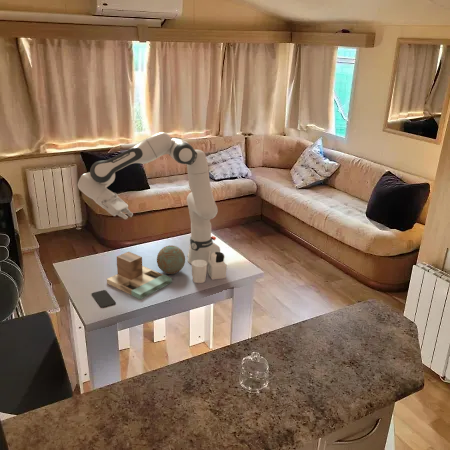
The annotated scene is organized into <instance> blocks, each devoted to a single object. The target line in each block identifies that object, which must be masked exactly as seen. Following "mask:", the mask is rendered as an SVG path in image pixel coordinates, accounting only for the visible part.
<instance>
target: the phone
mask: <svg viewBox="0 0 450 450" xmlns="http://www.w3.org/2000/svg"><path fill="white" fill-rule="evenodd" d="M91 296H92V297H93V299H94V300H95V302H97V305H98V306H99V307H100V308H102V309H105V308H107V307H112V306H115V305H116V303H117V302H116V301H115V300H114V298H113V297H112V296H111V295H110V294H109V292H108V291H107V289H103V290H98V291H94V292H92V293H91Z"/></svg>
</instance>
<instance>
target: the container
mask: <svg viewBox="0 0 450 450" xmlns="http://www.w3.org/2000/svg"><path fill="white" fill-rule="evenodd" d="M207 274H208V275H209V277H210V279H211V280H212V281H213V280H221V279H226V278H227V264H226V263H225V254H224V253H223V252H221V251H220V252H214V253H212V254H211V260H210V261H208V266H207Z"/></svg>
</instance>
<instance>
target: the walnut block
mask: <svg viewBox="0 0 450 450" xmlns="http://www.w3.org/2000/svg"><path fill="white" fill-rule="evenodd" d="M142 266H143V256H140V255H138V254H136V253H133V252H132V251H126V252H124V253H122V254H119V255H117V256H116V268H117V271H116V272H117V274H119V275H121V276H123V277H125V278H127V279H130V280H132V279H134V278H136V277H138V276H141V275H143V273H142Z"/></svg>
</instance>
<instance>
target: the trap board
mask: <svg viewBox="0 0 450 450" xmlns="http://www.w3.org/2000/svg"><path fill="white" fill-rule="evenodd" d="M142 273H143V275H141V276H138V277H136V278H134V279H132V280H130V279H127V278H125V277H123V276H121V275H119V274H118V273H117V274H114V275H112V276H110V277H108V278H106V284H108V285H109V286H112V287H114V288H115V289H118V290H120V291H121V292H124V293H127V294H128V295H131V296H133V297H135V298H137V299H138V300H142V299H144V298H145V297H147V296H149V295H152V293H153V294H154V293H155V292H156V291H158V290H160V289H162V288H164V287H166V286H167V285H171V283H173V281H172V280H173V278H172V277H170V276H168V275H165V274H163V273H162V272H158V271H156V270H153V269H151V268H149V267H147V266H144V265H142Z"/></svg>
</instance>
